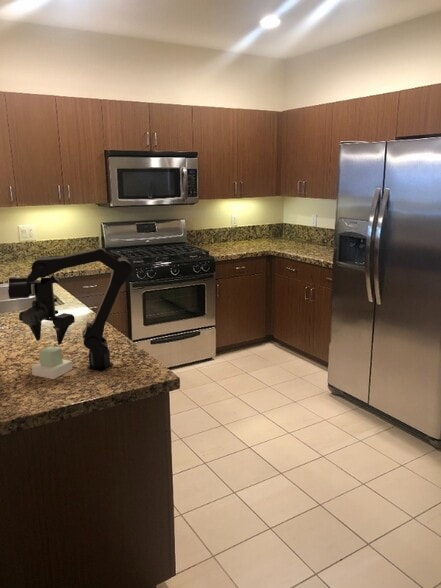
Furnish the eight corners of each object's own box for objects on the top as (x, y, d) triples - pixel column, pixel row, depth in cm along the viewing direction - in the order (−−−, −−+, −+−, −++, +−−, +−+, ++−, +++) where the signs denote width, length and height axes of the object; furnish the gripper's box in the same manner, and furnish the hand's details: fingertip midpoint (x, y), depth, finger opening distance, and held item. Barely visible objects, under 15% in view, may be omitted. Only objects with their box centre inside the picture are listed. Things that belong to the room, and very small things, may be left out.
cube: (62, 362, 159) (61, 348, 158) (52, 367, 155) (50, 353, 154) (51, 360, 161) (50, 346, 160) (40, 365, 157) (39, 351, 156)
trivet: (72, 369, 161) (71, 360, 160) (53, 379, 153) (52, 370, 152) (51, 365, 165) (51, 357, 164) (32, 375, 157) (31, 366, 156)
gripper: (3, 299, 149) (8, 346, 153) (48, 305, 142) (53, 354, 146) (29, 291, 159) (34, 335, 163) (73, 297, 152) (77, 343, 155)
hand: (48, 342), depth 156 cm, fingers open, 9 cm apart
